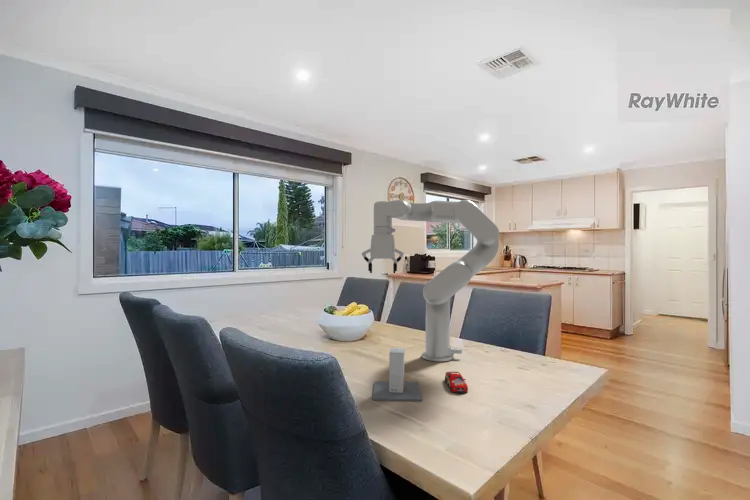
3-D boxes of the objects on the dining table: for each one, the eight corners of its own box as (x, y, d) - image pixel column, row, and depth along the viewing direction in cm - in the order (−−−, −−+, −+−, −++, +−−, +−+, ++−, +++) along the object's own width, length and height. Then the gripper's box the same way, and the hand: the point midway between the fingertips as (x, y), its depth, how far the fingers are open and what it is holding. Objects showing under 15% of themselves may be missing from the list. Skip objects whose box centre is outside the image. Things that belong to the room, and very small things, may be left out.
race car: (469, 395, 114) (469, 382, 114) (451, 395, 114) (451, 381, 114) (460, 379, 127) (460, 367, 127) (443, 379, 127) (443, 367, 127)
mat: (418, 383, 123) (418, 381, 123) (421, 401, 109) (421, 398, 109) (374, 383, 123) (374, 381, 123) (372, 400, 109) (372, 398, 109)
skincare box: (403, 393, 113) (403, 352, 113) (388, 392, 113) (389, 352, 113) (404, 386, 119) (404, 347, 119) (390, 385, 120) (390, 347, 119)
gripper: (403, 231, 162) (403, 272, 162) (362, 231, 162) (362, 272, 162) (404, 231, 154) (403, 273, 154) (361, 231, 155) (361, 273, 155)
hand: (382, 272), depth 158 cm, fingers open, 9 cm apart
